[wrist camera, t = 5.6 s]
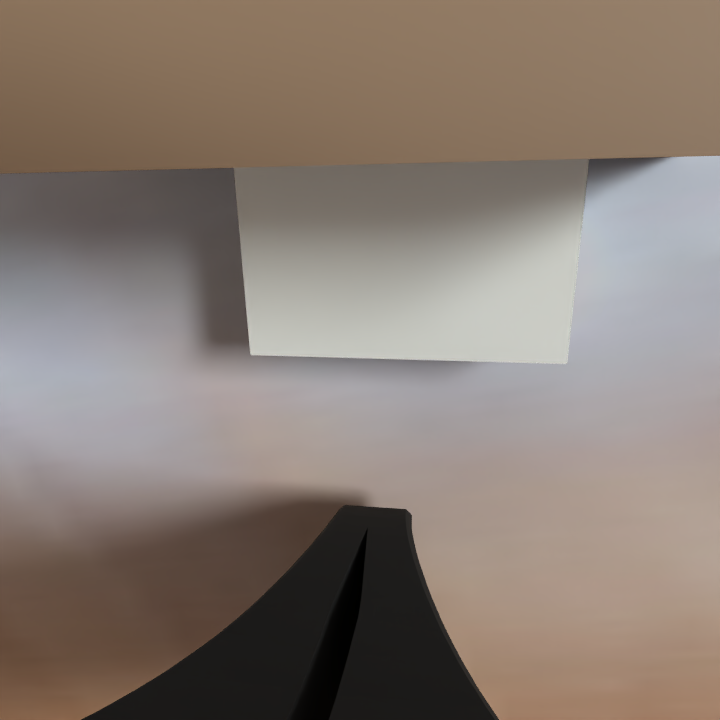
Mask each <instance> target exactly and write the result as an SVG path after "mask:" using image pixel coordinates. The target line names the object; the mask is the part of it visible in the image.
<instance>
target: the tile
mask: <svg viewBox="0 0 720 720" xmlns="http://www.w3.org/2000/svg"><path fill="white" fill-rule="evenodd" d="M588 166H589V159H563V160H523V161H483V162H443V163H403V164H363V165H323V166H283V167H243V168H234V179H235V190H236V201H237V212H238V223H239V234H240V245H241V257H242V268H243V279H244V290H245V301H246V312H247V323H248V334H249V345H250V355H264V356H299V357H335V358H371V359H406V360H442V361H478V362H513V363H549V364H567V359H568V350H569V341H570V332H571V322H572V313H573V304H574V295H575V286H576V276H577V267H578V258H579V249H580V240H581V230H582V221H583V212H584V203H585V193H586V184H587V175H588Z"/></svg>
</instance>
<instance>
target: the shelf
mask: <svg viewBox="0 0 720 720" xmlns="http://www.w3.org/2000/svg"><path fill="white" fill-rule="evenodd" d="M683 156H720V0H0V174H3V173H43V172H83V171H123V170H163V169H203V168H243V167H283V166H323V165H363V164H403V163H443V162H483V161H523V160H563V159H603V158H643V157H683Z"/></svg>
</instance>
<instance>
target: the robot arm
mask: <svg viewBox="0 0 720 720" xmlns="http://www.w3.org/2000/svg"><path fill="white" fill-rule="evenodd" d="M81 720H499V719H498V717H497V716H496V714H495V713H494V711H493V710H492V709H491V707H490V706H489V704H488V703H487V701H486V700H485V698H484V697H483V695H482V694H481V692H480V691H479V689H478V687H477V686H476V684H475V682H474V681H473V679H472V677H471V675H470V674H469V672H468V670H467V669H466V667H465V665H464V663H463V662H462V660H461V658H460V656H459V654H458V652H457V651H456V649H455V647H454V645H453V643H452V641H451V639H450V637H449V635H448V633H447V631H446V629H445V627H444V625H443V622H442V620H441V618H440V616H439V613H438V611H437V609H436V607H435V604H434V602H433V600H432V597H431V594H430V592H429V589H428V587H427V584H426V581H425V578H424V575H423V572H422V569H421V566H420V563H419V560H418V556H417V553H416V549H415V544H414V540H413V535H412V515H411V514H410V513H409V512H408V511H407V510H406V509H394V508H379V507H364V506H349V505H344V506H343V507H342V508H341V509H340V510H339V511H338V512H337V513H336V515H335V516H334V517H333V519H332V520H331V521H330V523H329V524H328V525H327V526H326V528H325V529H324V530H323V531H322V533H321V534H320V535H319V536H318V537H317V539H316V540H315V541H314V542H313V543H312V545H311V546H310V547H309V548H308V549H307V550H306V551H305V552H304V553H303V555H302V556H301V557H300V558H299V559H298V560H297V561H296V562H295V563H294V565H293V566H292V567H291V568H290V569H289V570H288V571H287V572H286V573H285V574H284V575H283V576H282V577H281V578H280V579H279V580H278V581H277V582H276V583H275V584H274V585H273V586H272V587H271V588H270V589H269V590H268V591H267V592H266V593H265V594H264V595H263V596H262V597H261V598H260V599H259V600H258V601H257V602H255V603H254V604H253V605H252V606H251V607H250V608H249V609H248V610H247V611H245V612H244V613H243V614H242V615H241V616H240V617H239V618H237V619H236V620H235V621H234V622H233V623H231V624H230V625H229V626H228V627H226V628H225V629H224V630H223V631H222V632H220V633H219V634H218V635H216V636H215V637H214V638H213V639H211V640H210V641H208V642H207V643H206V644H204V645H203V646H202V647H200V648H199V649H197V650H196V651H195V652H193V653H192V654H190V655H189V656H187V657H186V658H185V659H183V660H182V661H180V662H179V663H177V664H176V665H174V666H173V667H172V668H170V669H169V670H167V671H166V672H164V673H162V674H161V675H159V676H158V677H156V678H154V679H153V680H151V681H149V682H148V683H146V684H145V685H143V686H141V687H140V688H138V689H136V690H135V691H133V692H131V693H129V694H128V695H126V696H124V697H122V698H121V699H119V700H117V701H115V702H114V703H112V704H110V705H108V706H106V707H105V708H103V709H101V710H99V711H97V712H95V713H93V714H92V715H89V716H87V717H85V718H83V719H81Z"/></svg>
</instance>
